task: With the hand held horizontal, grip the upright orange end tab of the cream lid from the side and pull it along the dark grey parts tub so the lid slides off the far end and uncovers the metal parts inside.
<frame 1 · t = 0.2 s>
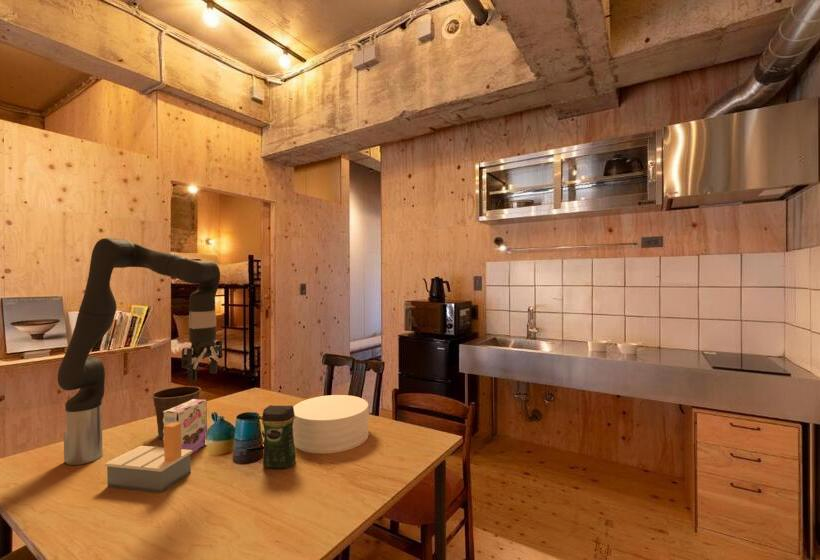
hand: (203, 377, 120), 29 cm above the table, tool pointing down, fingers open, 8 cm apart
candy box: (186, 453, 133), on the table
coffee jar: (279, 464, 124), on the table
plate stack: (331, 437, 145), on the table
tub: (150, 479, 115), on the table
sushi roll: (259, 443, 141), on the table
lid: (149, 441, 115), point 12 cm above the table, slide at 0.0 cm
plant pot: (177, 433, 150), on the table
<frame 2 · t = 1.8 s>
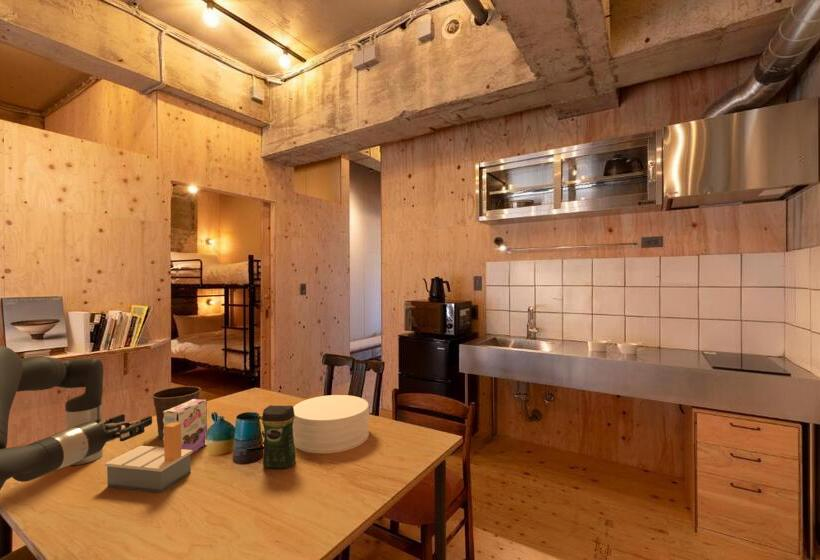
hand: (137, 418, 102), 23 cm above the table, tool horizontal, fingers open, 8 cm apart
nothing on the table moved.
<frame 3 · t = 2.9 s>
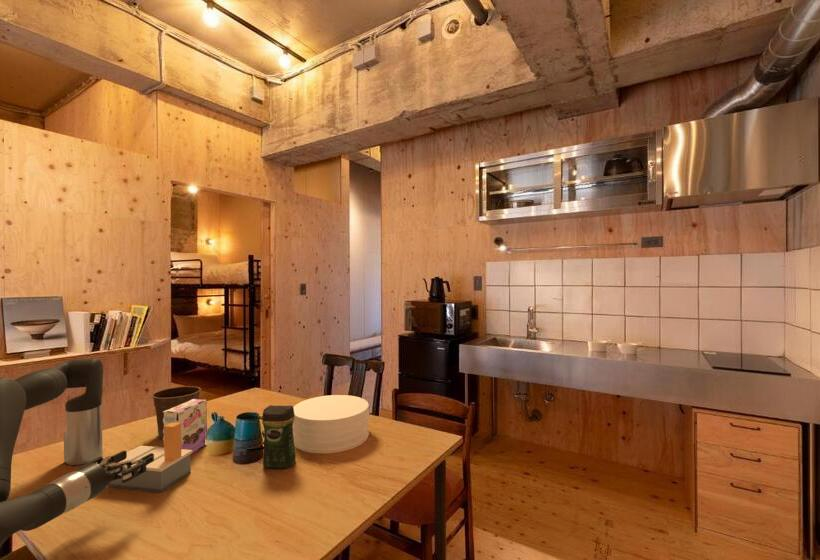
hand: (138, 455, 102), 13 cm above the table, tool horizontal, fingers open, 8 cm apart
nothing on the table moved.
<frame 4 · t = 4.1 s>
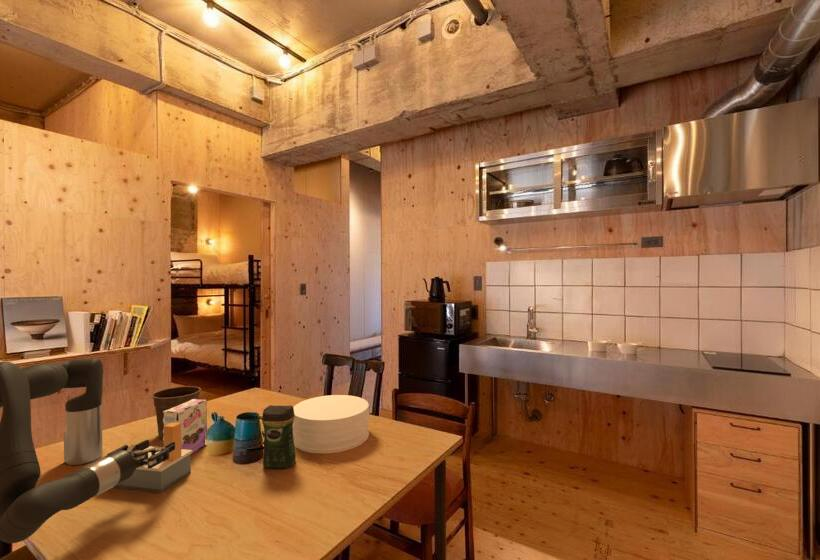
hand: (161, 444, 109), 13 cm above the table, tool horizontal, fingers open, 8 cm apart
nothing on the table moved.
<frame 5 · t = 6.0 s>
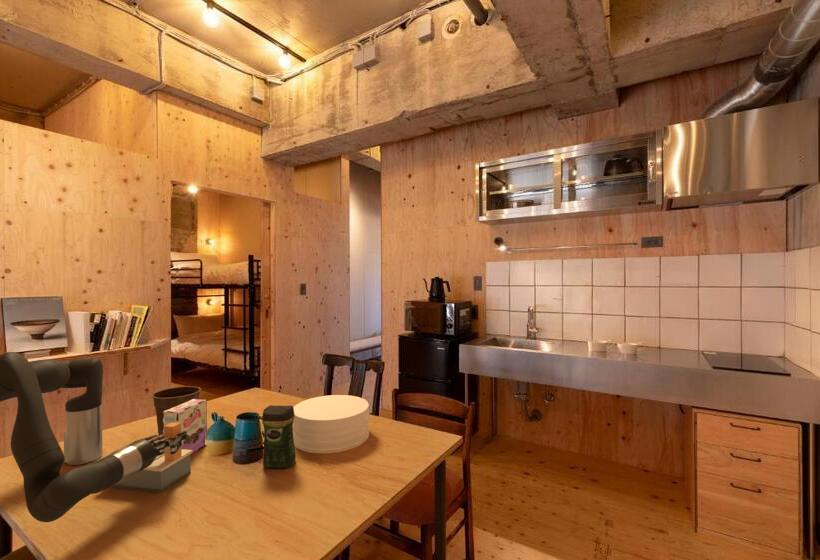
hand: (180, 433, 116), 13 cm above the table, tool horizontal, fingers closed on lid, 3 cm apart
lid: (149, 441, 115), point 12 cm above the table, slide at 0.0 cm, touching gripper
everything else where it was.
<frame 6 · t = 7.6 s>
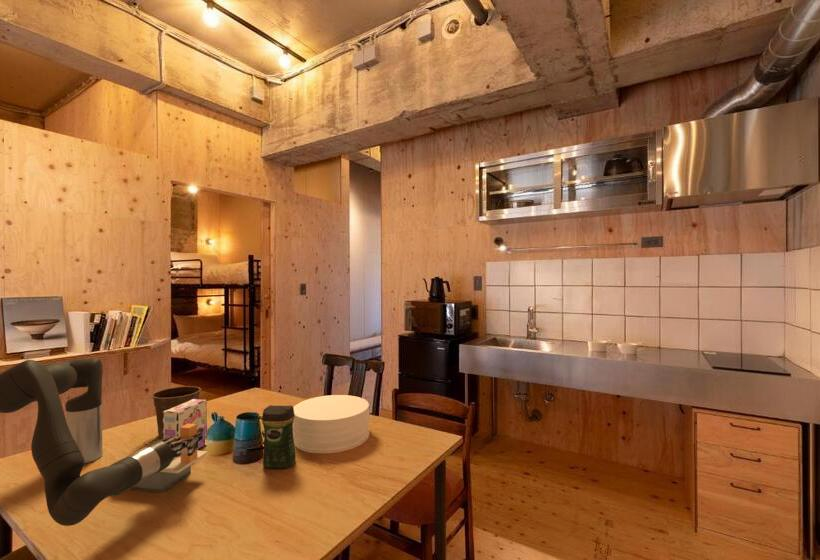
hand: (195, 435, 115), 13 cm above the table, tool horizontal, fingers closed on lid, 3 cm apart
lid: (165, 442, 114), point 12 cm above the table, slide at 5.4 cm, touching gripper
everything else where it was.
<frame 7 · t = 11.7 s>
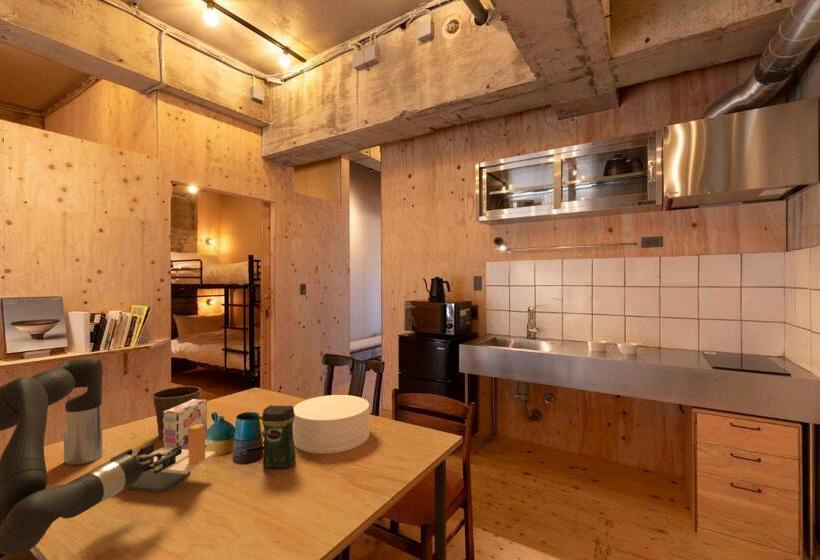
hand: (166, 447, 105), 14 cm above the table, tool horizontal, fingers open, 8 cm apart
lid: (173, 442, 113), point 11 cm above the table, slide at 8.0 cm
everything else where it was.
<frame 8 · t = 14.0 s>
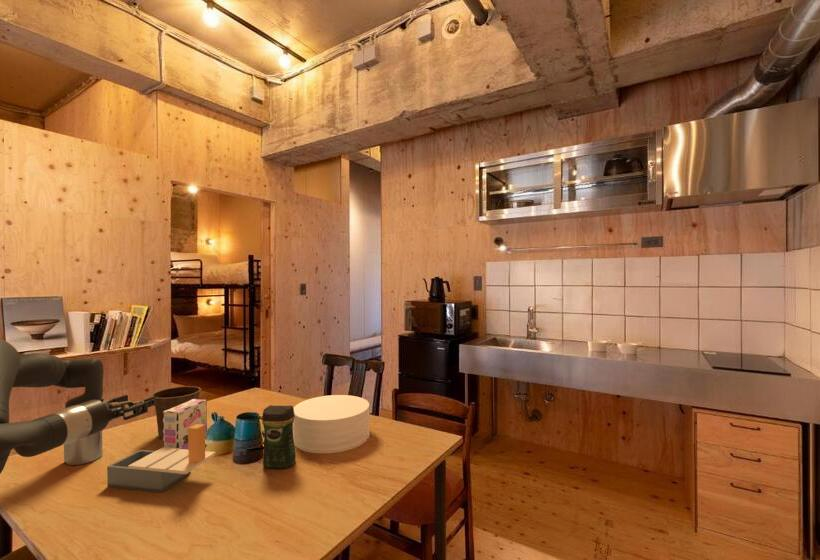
hand: (140, 399, 102), 28 cm above the table, tool horizontal, fingers open, 8 cm apart
nothing on the table moved.
at the end: lid slide at 8.0 cm; the gripper is holding nothing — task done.
